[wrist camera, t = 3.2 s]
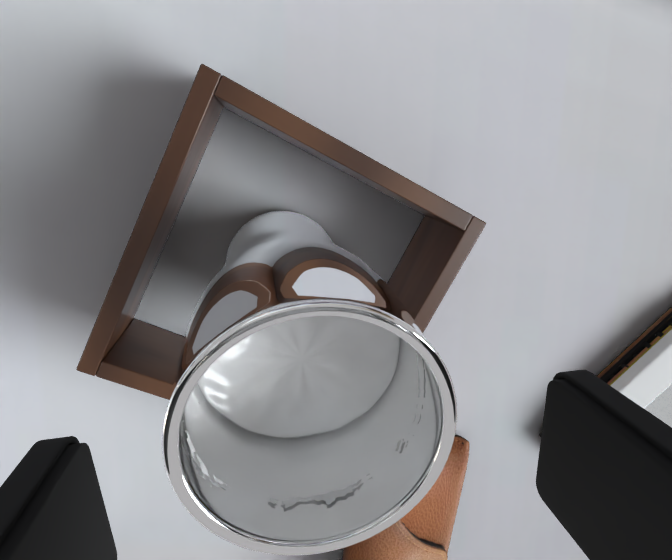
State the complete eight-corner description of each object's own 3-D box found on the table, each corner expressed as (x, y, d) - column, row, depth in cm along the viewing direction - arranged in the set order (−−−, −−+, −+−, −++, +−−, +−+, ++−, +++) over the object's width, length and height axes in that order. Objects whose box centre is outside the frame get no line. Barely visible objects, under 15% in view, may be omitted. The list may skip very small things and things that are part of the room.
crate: (113, 324, 23) (75, 370, 18) (214, 83, 20) (201, 62, 16) (334, 404, 27) (350, 458, 22) (442, 208, 24) (487, 223, 19)
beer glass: (228, 189, 22) (171, 263, 8) (356, 215, 23) (507, 318, 9) (208, 314, 23) (134, 562, 9) (329, 331, 25) (420, 566, 11)
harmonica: (692, 283, 29) (723, 293, 27) (711, 311, 30) (742, 322, 28) (534, 430, 30) (553, 449, 28) (557, 452, 31) (577, 471, 29)
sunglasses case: (436, 626, 34) (422, 726, 27) (352, 590, 36) (322, 676, 30) (473, 431, 28) (465, 502, 22) (372, 404, 31) (341, 462, 25)
